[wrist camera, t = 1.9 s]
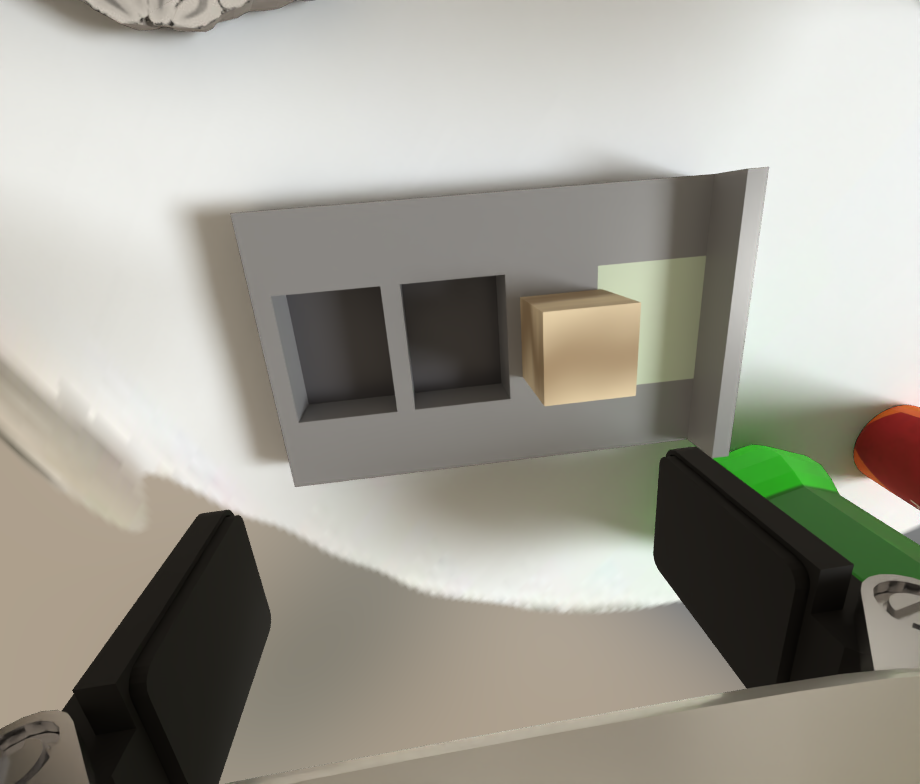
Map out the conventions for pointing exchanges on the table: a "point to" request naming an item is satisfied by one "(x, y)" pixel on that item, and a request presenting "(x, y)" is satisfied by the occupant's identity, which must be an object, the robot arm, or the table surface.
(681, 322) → the box
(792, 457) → the plastic bottle
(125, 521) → the table surface
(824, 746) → the robot arm
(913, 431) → the coffee cup
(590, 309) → the birch block
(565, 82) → the table surface
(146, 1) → the brain slice
